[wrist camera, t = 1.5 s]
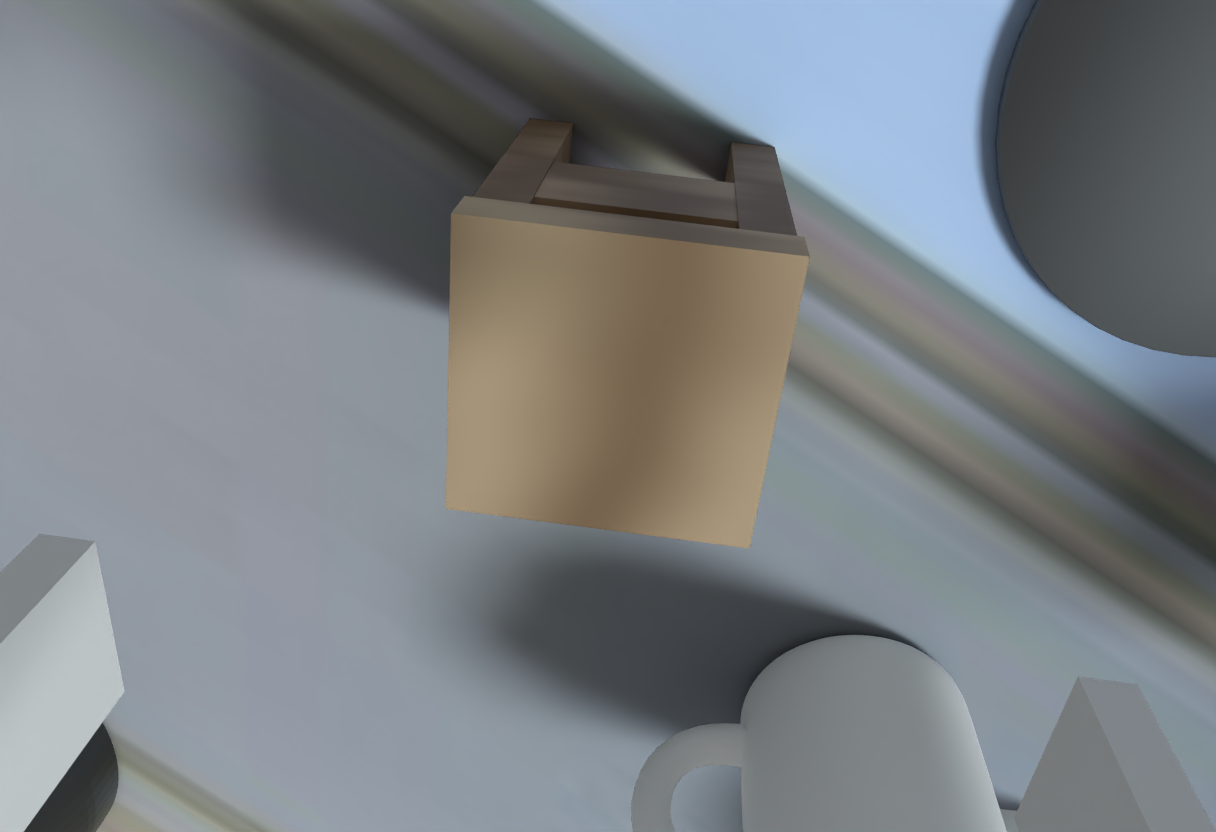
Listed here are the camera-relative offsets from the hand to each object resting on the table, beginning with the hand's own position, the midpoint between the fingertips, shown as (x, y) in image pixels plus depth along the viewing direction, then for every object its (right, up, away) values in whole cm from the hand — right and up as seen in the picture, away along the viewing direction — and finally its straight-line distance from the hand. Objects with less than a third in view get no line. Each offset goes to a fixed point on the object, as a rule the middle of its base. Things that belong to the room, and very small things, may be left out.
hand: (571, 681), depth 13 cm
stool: (+1, +9, +15) cm, 18 cm away
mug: (+8, -7, +24) cm, 26 cm away
